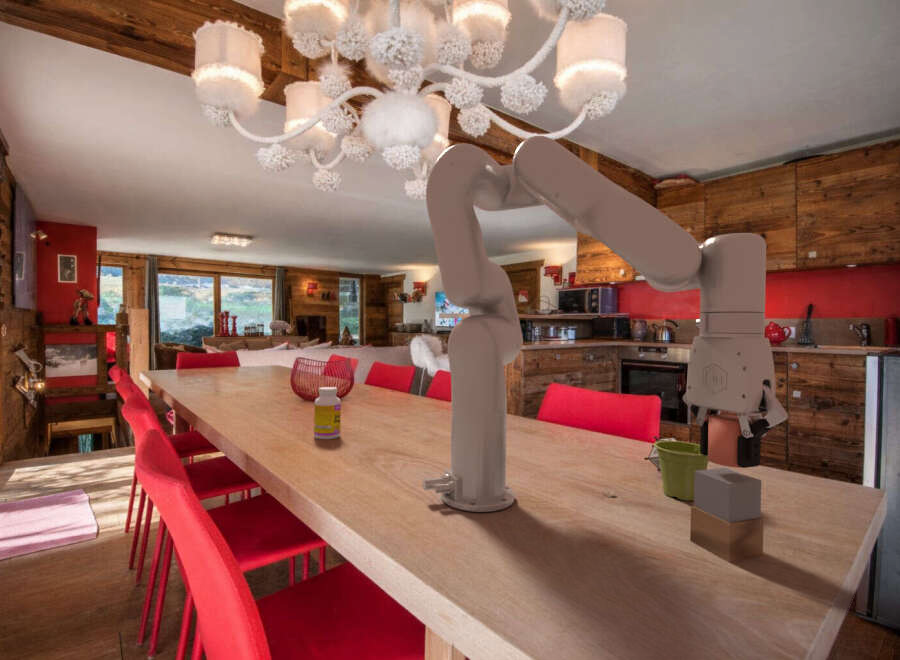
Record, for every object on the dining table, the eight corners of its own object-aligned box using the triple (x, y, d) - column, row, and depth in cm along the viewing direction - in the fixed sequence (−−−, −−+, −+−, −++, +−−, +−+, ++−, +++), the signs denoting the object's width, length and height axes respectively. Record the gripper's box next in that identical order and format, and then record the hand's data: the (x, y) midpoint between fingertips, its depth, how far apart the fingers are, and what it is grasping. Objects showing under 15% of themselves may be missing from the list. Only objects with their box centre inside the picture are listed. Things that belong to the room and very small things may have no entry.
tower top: (728, 522, 58) (729, 484, 58) (693, 506, 63) (694, 470, 63) (760, 517, 60) (761, 480, 60) (723, 502, 65) (724, 467, 65)
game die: (679, 496, 90) (706, 466, 84) (637, 478, 91) (660, 447, 85) (677, 464, 97) (702, 433, 91) (638, 447, 98) (660, 416, 93)
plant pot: (645, 485, 86) (645, 439, 85) (695, 486, 85) (696, 440, 85) (667, 504, 76) (668, 453, 76) (723, 506, 76) (724, 455, 76)
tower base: (728, 563, 58) (729, 524, 58) (690, 541, 63) (691, 506, 63) (762, 555, 60) (763, 518, 59) (722, 535, 65) (722, 501, 65)
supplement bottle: (336, 440, 114) (337, 390, 114) (310, 440, 114) (311, 389, 114) (343, 434, 121) (343, 386, 121) (318, 433, 121) (319, 386, 121)
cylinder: (732, 469, 58) (733, 422, 58) (699, 458, 63) (700, 415, 63) (760, 465, 60) (761, 420, 60) (726, 455, 64) (726, 413, 64)
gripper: (661, 326, 68) (659, 446, 68) (774, 326, 52) (771, 484, 52) (699, 326, 70) (697, 442, 70) (818, 327, 54) (815, 477, 54)
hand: (728, 458), depth 61 cm, fingers closed on cylinder, 5 cm apart
